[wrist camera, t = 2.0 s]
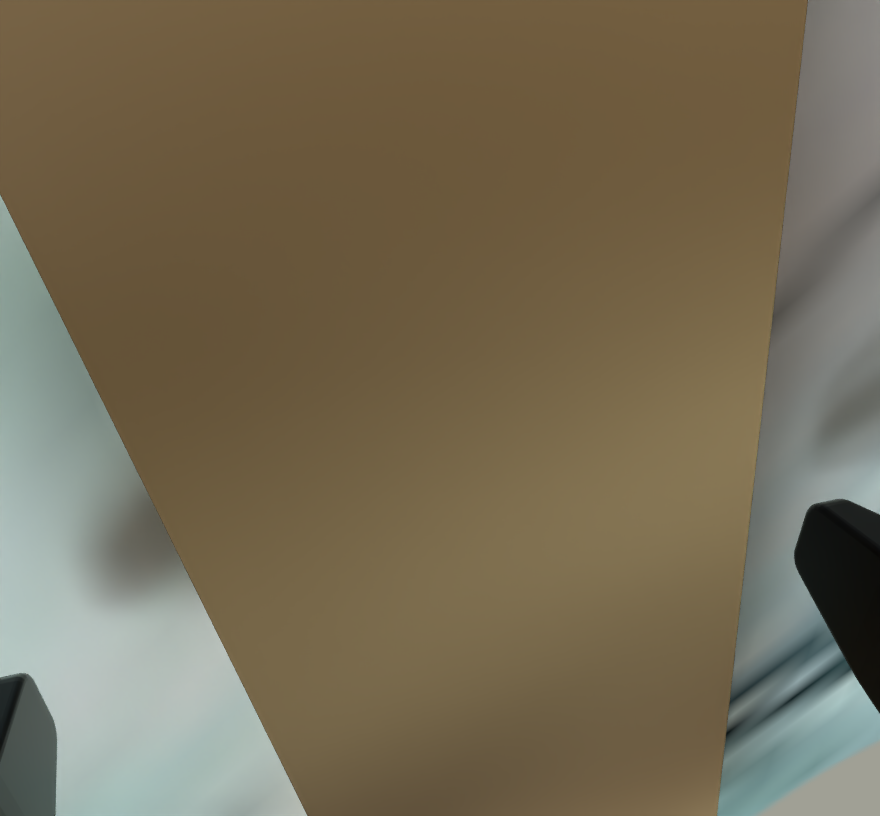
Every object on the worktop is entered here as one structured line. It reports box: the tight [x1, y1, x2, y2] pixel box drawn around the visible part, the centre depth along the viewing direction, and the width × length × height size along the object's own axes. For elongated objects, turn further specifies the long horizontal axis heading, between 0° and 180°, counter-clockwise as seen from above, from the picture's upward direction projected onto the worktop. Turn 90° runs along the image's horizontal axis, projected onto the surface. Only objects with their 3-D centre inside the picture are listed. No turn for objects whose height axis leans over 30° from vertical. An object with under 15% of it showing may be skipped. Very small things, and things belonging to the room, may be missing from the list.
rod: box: [0, 0, 808, 816], centre depth 9 cm, size 20×4×4 cm, turn 9°
